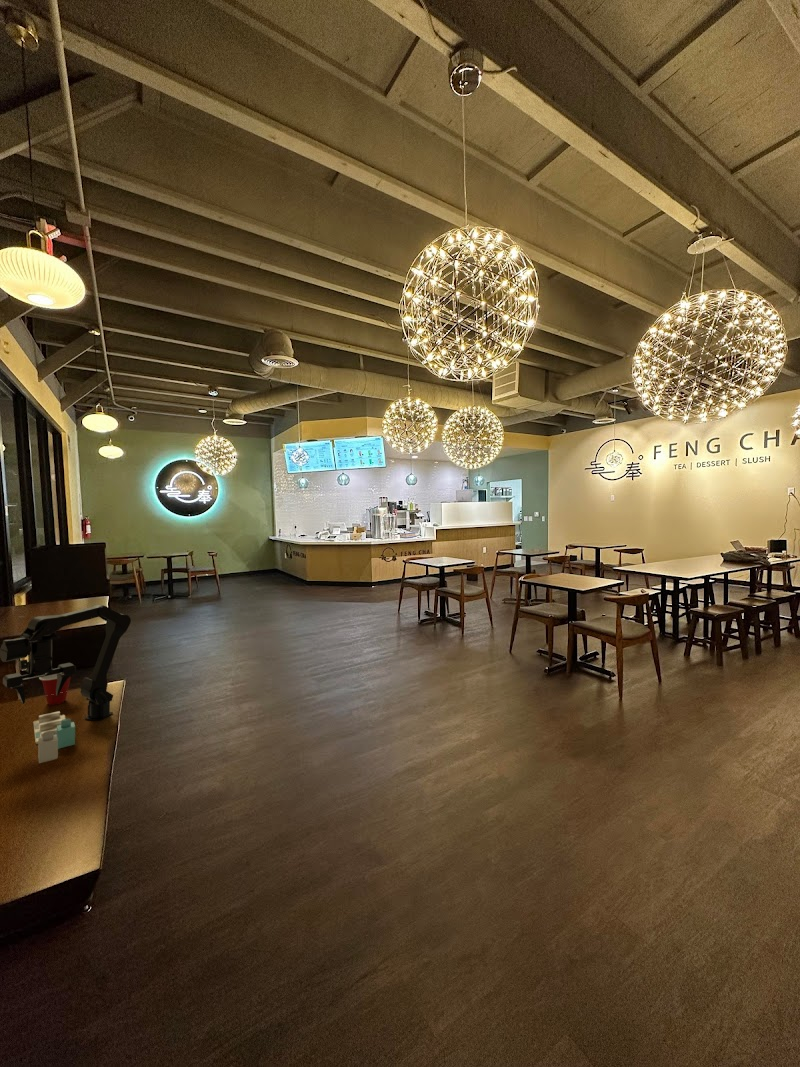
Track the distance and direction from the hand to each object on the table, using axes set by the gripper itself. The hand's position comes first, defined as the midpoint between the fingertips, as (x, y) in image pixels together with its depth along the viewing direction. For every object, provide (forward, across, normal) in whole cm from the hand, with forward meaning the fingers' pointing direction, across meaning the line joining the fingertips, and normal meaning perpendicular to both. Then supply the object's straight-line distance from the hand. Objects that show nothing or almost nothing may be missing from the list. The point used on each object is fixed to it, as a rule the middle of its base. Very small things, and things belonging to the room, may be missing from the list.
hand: (40, 699), depth 148 cm
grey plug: (+13, +2, +18) cm, 22 cm away
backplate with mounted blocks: (+13, -4, -4) cm, 14 cm away
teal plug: (+13, -4, +12) cm, 18 cm away
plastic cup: (+13, -12, -30) cm, 35 cm away
